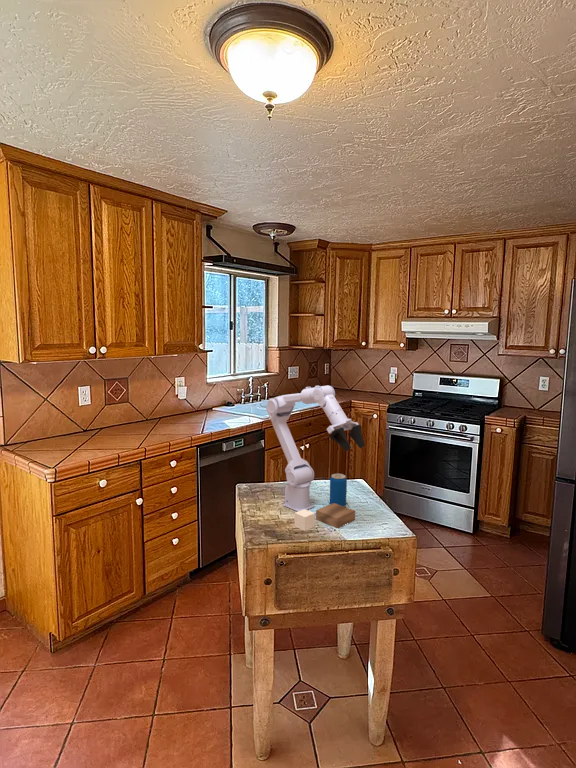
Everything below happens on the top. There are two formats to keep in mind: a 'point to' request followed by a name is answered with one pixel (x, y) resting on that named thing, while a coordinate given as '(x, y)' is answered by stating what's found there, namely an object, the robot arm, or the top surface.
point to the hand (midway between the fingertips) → (355, 448)
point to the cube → (304, 519)
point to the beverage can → (338, 489)
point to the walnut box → (335, 515)
